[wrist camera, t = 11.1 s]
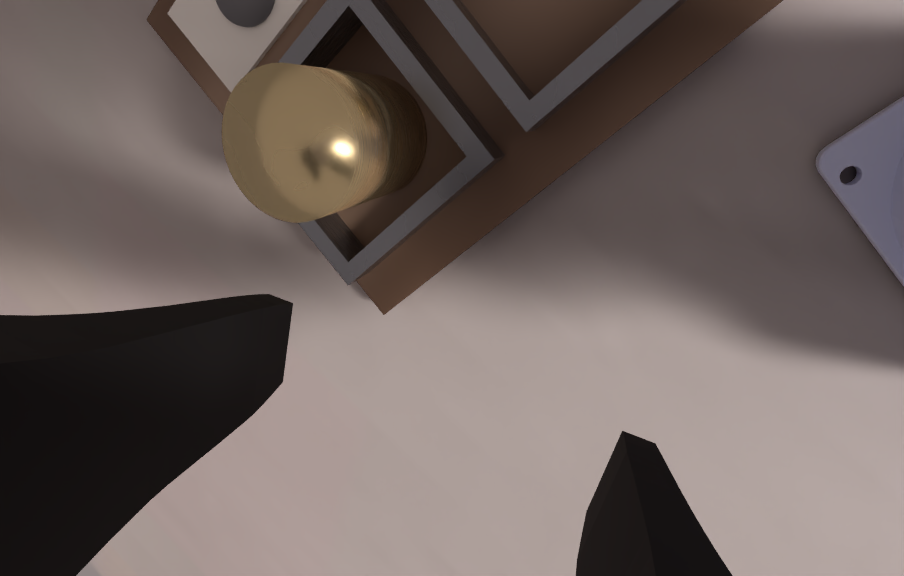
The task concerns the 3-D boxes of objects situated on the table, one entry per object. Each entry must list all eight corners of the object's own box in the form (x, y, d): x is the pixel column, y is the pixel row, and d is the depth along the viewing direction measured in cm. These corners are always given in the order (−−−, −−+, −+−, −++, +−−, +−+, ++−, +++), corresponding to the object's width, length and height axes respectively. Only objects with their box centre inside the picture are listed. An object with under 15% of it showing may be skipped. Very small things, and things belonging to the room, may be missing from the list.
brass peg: (448, 118, 17) (381, 121, 13) (392, 217, 19) (316, 251, 14) (351, 50, 17) (252, 29, 13) (304, 153, 19) (203, 167, 15)
